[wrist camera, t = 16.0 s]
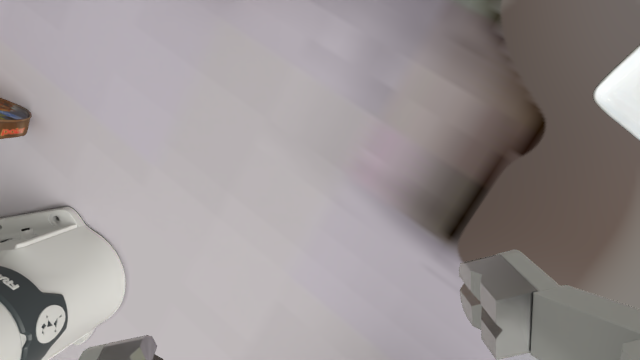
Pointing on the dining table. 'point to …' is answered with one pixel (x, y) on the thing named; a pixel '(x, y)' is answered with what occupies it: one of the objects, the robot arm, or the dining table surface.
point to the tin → (13, 120)
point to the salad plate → (622, 93)
